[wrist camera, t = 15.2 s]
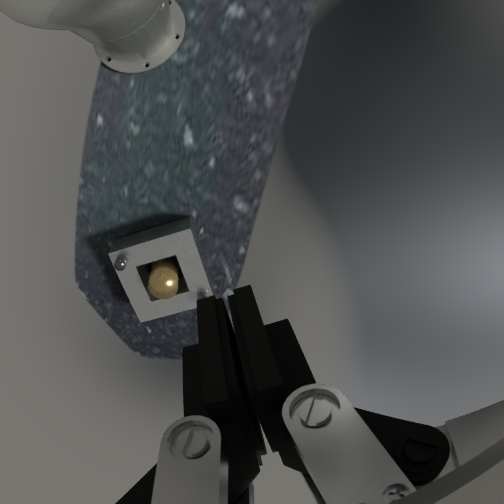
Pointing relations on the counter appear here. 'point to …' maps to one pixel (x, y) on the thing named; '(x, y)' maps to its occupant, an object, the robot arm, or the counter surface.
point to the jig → (155, 248)
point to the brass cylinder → (164, 277)
